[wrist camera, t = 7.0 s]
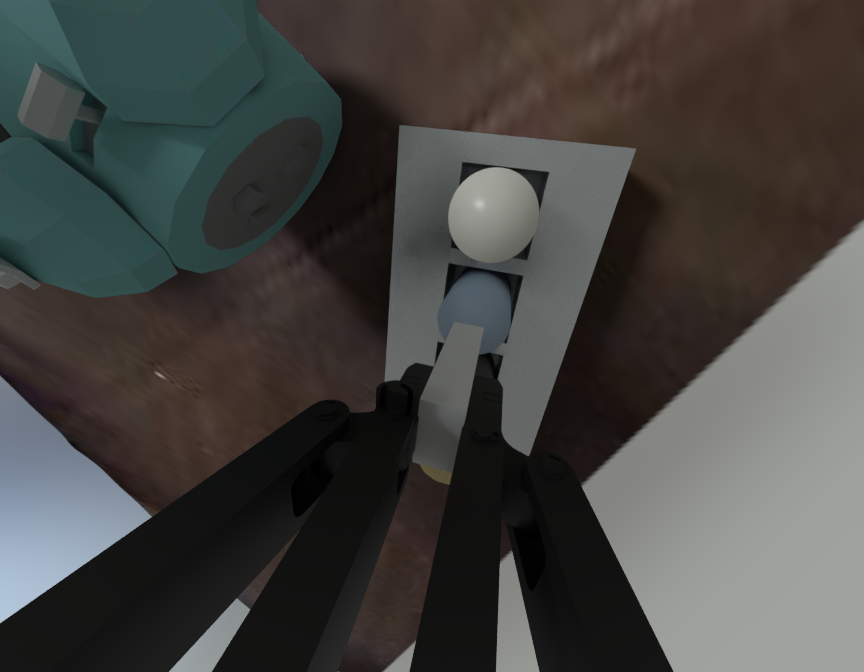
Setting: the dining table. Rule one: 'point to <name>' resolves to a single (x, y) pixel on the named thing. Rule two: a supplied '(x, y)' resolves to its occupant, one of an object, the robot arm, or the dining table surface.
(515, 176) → the white egg
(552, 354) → the white socket board
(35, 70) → the alarm clock
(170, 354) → the dining table surface
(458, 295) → the blue ovoid
